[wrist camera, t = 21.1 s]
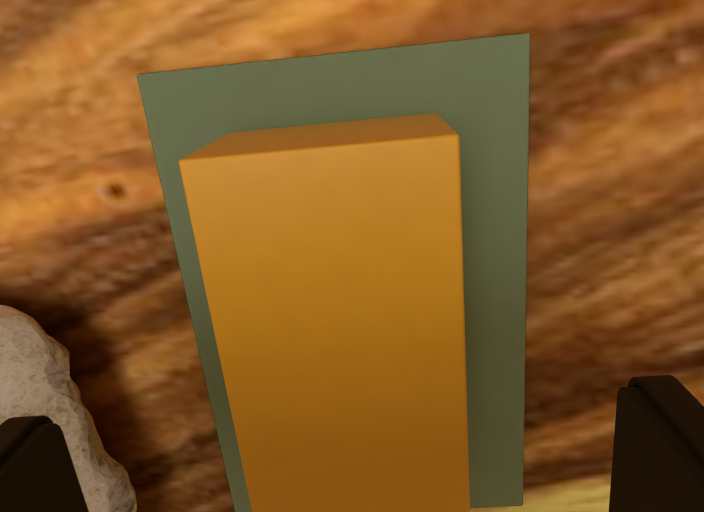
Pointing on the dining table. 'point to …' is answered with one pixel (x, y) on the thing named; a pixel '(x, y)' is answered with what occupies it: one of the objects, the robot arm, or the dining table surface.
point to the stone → (57, 407)
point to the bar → (339, 310)
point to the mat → (476, 203)
